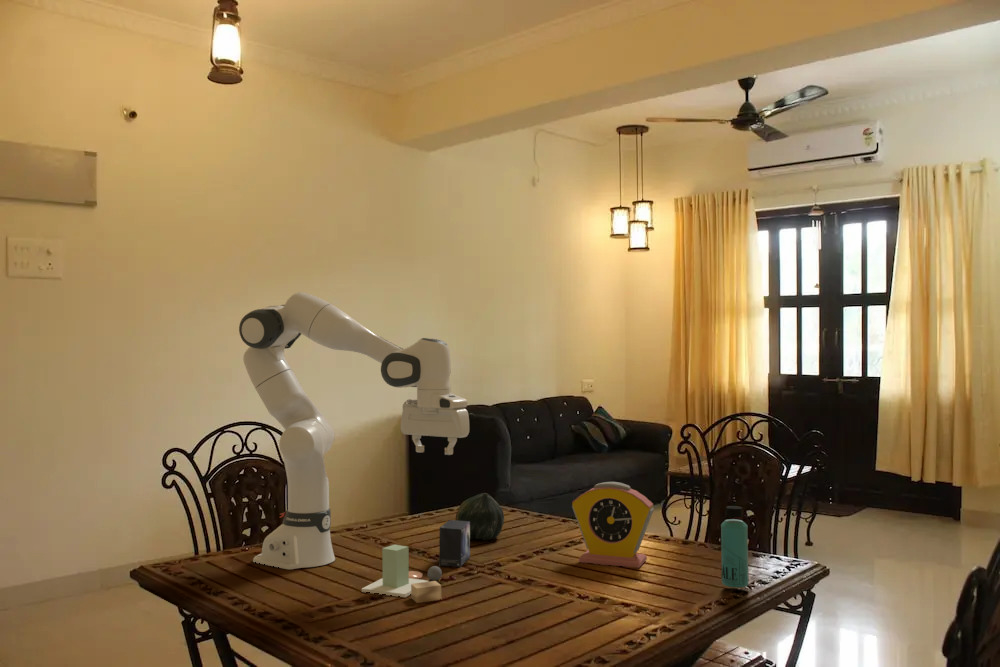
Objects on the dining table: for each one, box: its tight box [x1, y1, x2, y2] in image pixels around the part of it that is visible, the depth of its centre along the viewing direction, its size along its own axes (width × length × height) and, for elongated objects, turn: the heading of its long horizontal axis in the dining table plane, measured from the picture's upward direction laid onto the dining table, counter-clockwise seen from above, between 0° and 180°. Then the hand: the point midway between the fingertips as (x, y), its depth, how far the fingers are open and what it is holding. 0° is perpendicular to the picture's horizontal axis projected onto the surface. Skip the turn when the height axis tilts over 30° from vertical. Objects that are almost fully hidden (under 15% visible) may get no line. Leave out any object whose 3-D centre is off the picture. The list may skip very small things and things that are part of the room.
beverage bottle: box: [720, 505, 750, 588], centre depth 197 cm, size 6×7×20 cm
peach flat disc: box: [409, 570, 423, 579], centre depth 210 cm, size 7×7×1 cm
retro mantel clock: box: [571, 481, 655, 569], centre depth 223 cm, size 22×9×22 cm, turn 68°
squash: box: [454, 492, 505, 542], centre depth 251 cm, size 14×15×15 cm
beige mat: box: [361, 577, 430, 598], centre depth 200 cm, size 12×12×1 cm
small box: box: [438, 519, 471, 568], centre depth 224 cm, size 11×6×10 cm, turn 168°
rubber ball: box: [427, 565, 443, 582], centre depth 206 cm, size 4×4×4 cm
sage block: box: [381, 544, 410, 588], centre depth 200 cm, size 4×4×9 cm
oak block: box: [410, 580, 442, 604], centre depth 191 cm, size 6×4×4 cm, turn 115°
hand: (434, 453), depth 213 cm, fingers open, 8 cm apart
